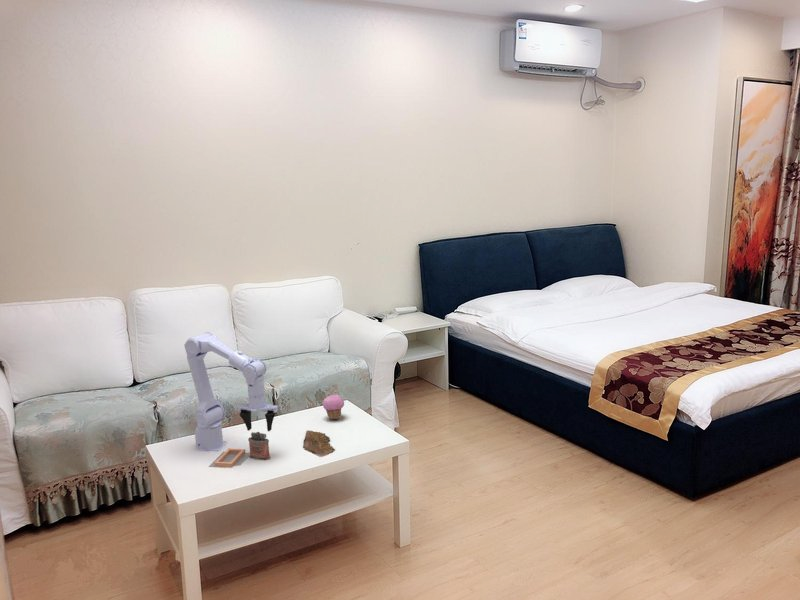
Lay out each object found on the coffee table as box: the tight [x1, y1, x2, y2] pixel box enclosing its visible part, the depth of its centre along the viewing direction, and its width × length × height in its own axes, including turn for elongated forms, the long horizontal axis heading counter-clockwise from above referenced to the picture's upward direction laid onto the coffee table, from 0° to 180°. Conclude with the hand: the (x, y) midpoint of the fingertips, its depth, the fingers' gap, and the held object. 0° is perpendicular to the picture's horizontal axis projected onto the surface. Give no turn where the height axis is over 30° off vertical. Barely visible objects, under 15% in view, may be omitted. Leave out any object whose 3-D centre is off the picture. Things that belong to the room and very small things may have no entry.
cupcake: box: [322, 394, 345, 420], centre depth 255 cm, size 9×9×10 cm
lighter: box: [248, 431, 271, 461], centre depth 221 cm, size 8×3×10 cm, turn 68°
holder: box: [208, 448, 250, 469], centre depth 220 cm, size 11×12×2 cm
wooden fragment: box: [302, 429, 336, 458], centre depth 232 cm, size 26×11×1 cm, turn 18°
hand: (259, 429), depth 221 cm, fingers open, 7 cm apart
